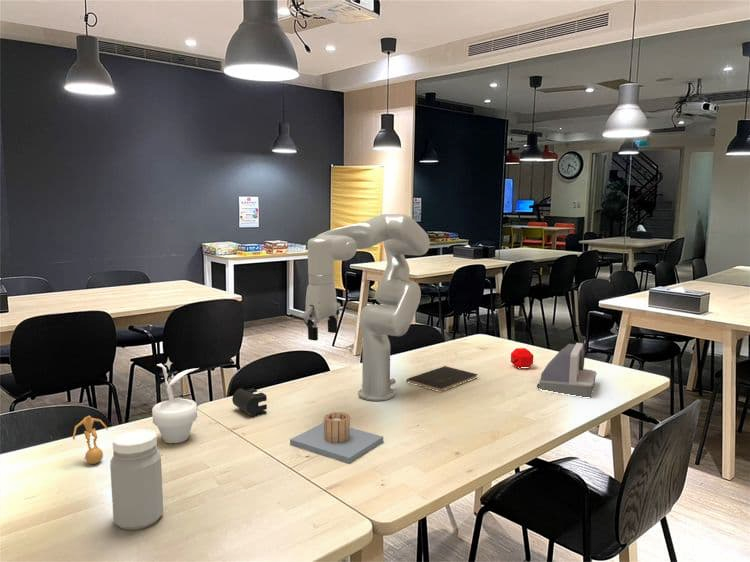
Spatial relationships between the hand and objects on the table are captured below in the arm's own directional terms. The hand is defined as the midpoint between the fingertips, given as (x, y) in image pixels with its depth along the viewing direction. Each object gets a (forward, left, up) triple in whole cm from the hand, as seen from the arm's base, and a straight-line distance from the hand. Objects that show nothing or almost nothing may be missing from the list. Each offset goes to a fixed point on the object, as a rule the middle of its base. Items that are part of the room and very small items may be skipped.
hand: (323, 336), depth 167 cm
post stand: (+11, +14, -26) cm, 32 cm away
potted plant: (+34, -24, -26) cm, 50 cm away
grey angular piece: (-75, +53, -27) cm, 95 cm away
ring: (+11, +14, -25) cm, 30 cm away
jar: (+64, +3, -26) cm, 70 cm away
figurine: (+55, -30, -26) cm, 68 cm away
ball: (-90, +31, -26) cm, 98 cm away
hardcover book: (-56, +12, -27) cm, 63 cm away
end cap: (+8, -23, -26) cm, 36 cm away
